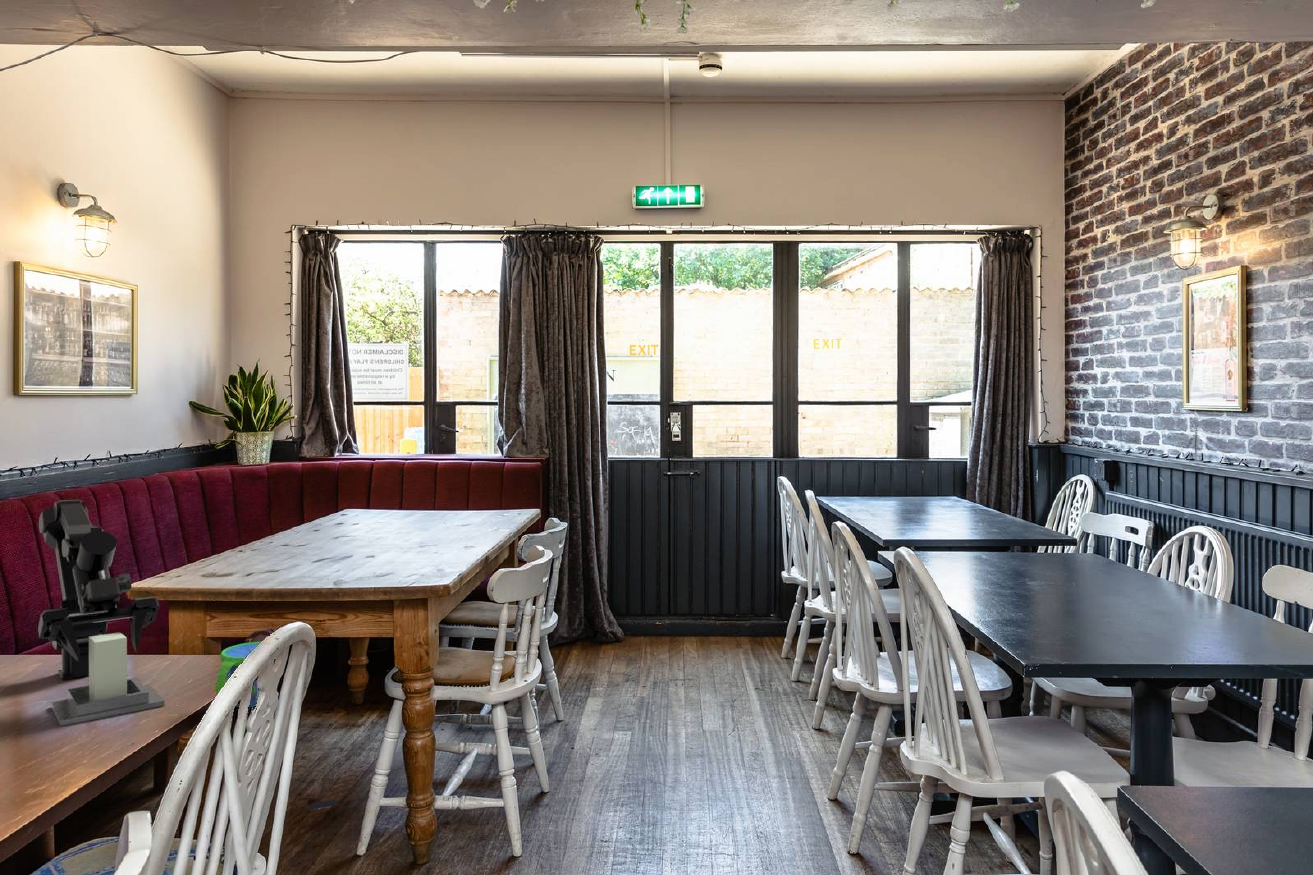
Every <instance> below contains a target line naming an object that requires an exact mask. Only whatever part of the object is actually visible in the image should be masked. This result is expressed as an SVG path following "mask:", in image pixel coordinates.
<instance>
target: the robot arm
mask: <svg viewBox="0 0 1313 875" xmlns="http://www.w3.org/2000/svg"><path fill="white" fill-rule="evenodd" d="M38 529H39V533H40V534H42V536H43V541H44V543H45V545H47V546H48V547H49V548H51V549H52V550H53V551H54V552H55V557H56V564H57V571H58V575H59V576H58V577H59V582H60V584H59V585H60V589H61V595H62V602H61V603H60V606H59V608H53V609H46V610H43V612H42V613H41V614H40V617H39V621H38V626H37V628H38V629H37V632H38V638H39V639H41V640H46V639H48V641H49V642H51V643H52V644H51V645H52V647H53V648H54V650H56V651H57V650H61V669H58V670H57V674H58V676H59V677H60V679H61V680H68V679H69V680H70V679H75V678H81V677H89V637H91V636H98V635H105V634H107V629H108V624H109V621H115V620H121V619H122V620H123V619H129V620H130V627H129V628H130V635H131V643H132V647H133V649H134V651H135V653H137V652H138V651H139V648H140V642H141V638H142V637H141V636H142V632H143V629H144V628H148V626H149V624H152V623H154V622H155V621H156V617H157V615H158V612H159V610H160V607H161V606H160V602H159V599H157V598H156V597H155V596H148V597H147V596H146V597H141V598H134V599H132V604H131V606H127V607H119V608H118V606H117V605H120V602H121V600H120V599H121V598H120V595H121V596H122V593H127V592H130V591H131V589H132V586H133V585H132V579H131V575H130V573H122V574H118V575H117V576H116V577H111V575H110V571H109V569H110V568H111V566H112V563H113V559H114V556H115V551H116V549H117V544H118V543H117V542H118V541H117V538H116V537H115V536H114V535H113V534H112V533H109V532H107V531H105V530H104V529H103V527H102V526H94V525H93V524H92V522H91V521H90V519H89V510H88V508H87V507H86V506H85V502H84V500H80V499H65V500H61V499H60V500H58V501H55V502H54V505H51V506H50V507H48V508H45V509H44V510H42V511H41V513H40V516H39V519H38Z"/></svg>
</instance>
